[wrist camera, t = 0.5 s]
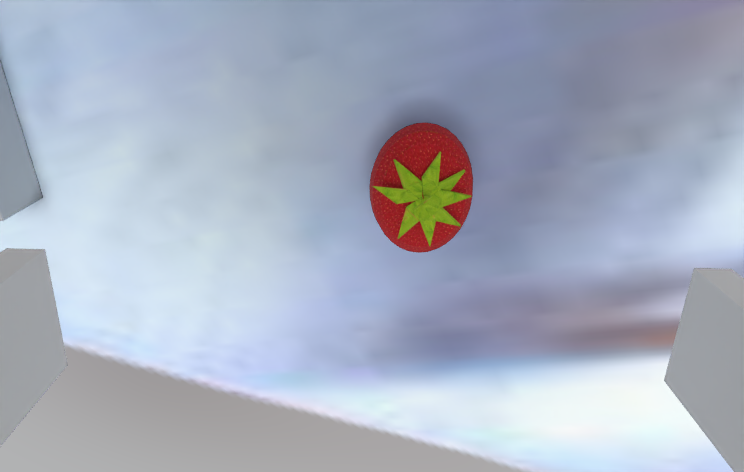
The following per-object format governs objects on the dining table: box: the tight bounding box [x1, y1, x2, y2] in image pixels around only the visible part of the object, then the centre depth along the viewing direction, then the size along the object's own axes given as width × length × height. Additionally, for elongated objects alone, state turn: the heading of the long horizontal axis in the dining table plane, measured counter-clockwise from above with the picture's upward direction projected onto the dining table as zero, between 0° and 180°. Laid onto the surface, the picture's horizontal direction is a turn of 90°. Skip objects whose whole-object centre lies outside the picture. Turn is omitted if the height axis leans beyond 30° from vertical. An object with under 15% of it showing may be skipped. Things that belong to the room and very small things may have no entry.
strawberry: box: [370, 123, 473, 252], centre depth 34 cm, size 6×8×10 cm
